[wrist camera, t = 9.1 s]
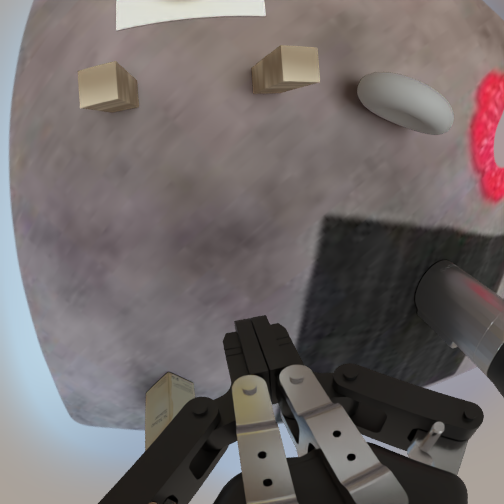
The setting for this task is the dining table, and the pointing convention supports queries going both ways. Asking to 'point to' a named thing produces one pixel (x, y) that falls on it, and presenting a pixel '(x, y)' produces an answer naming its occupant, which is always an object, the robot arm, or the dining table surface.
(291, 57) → the post right
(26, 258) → the dining table surface
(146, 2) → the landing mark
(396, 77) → the donut
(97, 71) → the post left
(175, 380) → the skincare box
